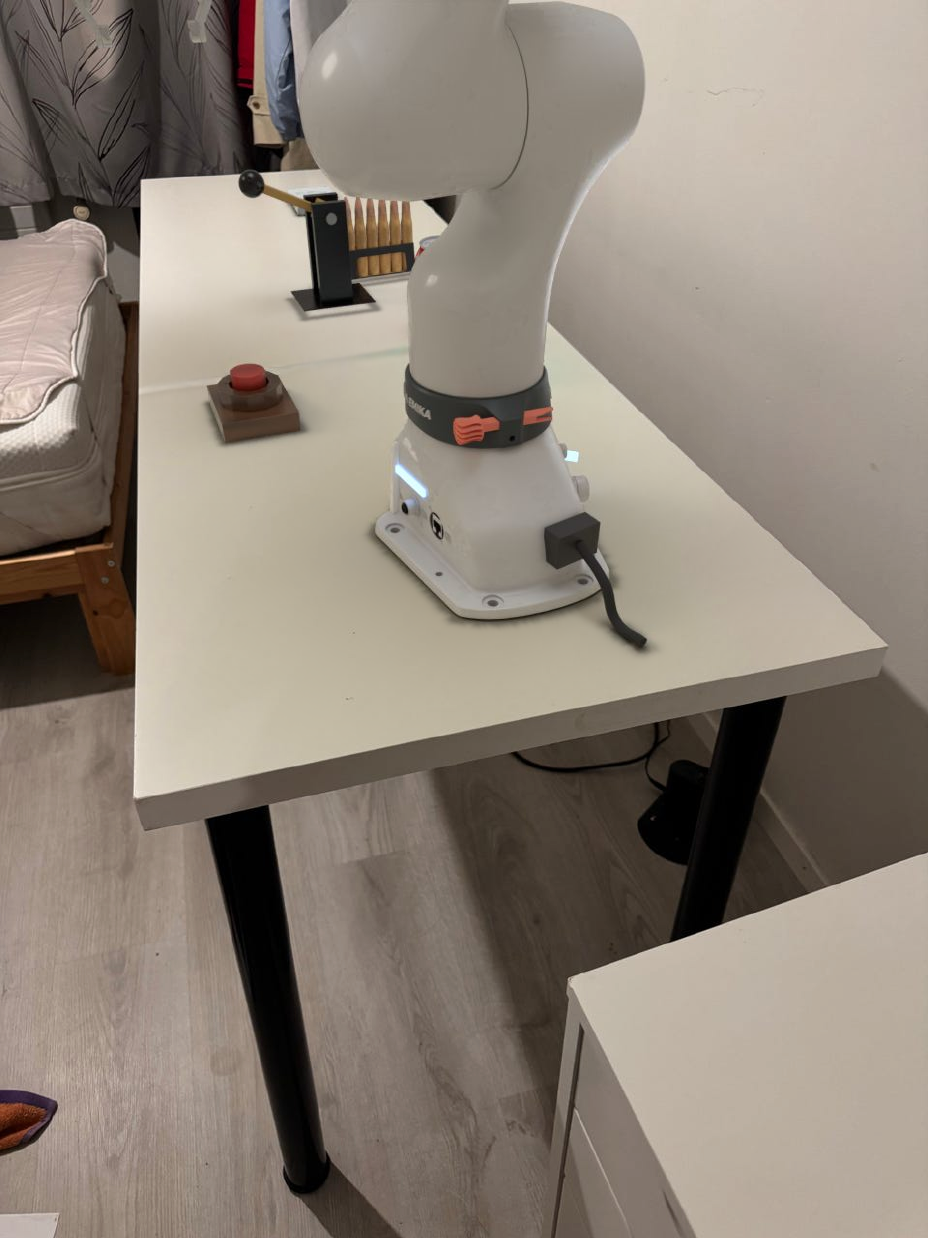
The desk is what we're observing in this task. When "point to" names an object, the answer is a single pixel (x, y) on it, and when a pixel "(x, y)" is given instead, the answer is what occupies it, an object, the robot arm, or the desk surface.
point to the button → (248, 377)
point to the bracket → (329, 257)
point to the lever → (269, 190)
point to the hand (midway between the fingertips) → (152, 44)
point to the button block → (253, 409)
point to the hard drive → (307, 191)
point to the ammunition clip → (380, 240)
